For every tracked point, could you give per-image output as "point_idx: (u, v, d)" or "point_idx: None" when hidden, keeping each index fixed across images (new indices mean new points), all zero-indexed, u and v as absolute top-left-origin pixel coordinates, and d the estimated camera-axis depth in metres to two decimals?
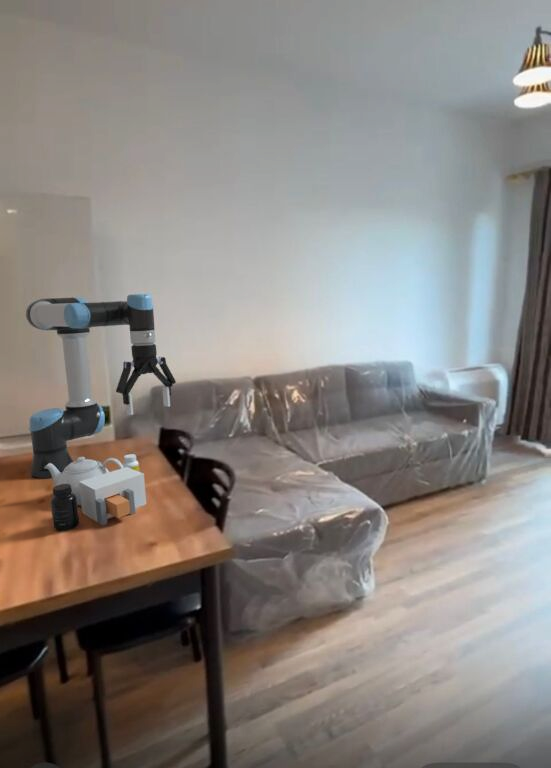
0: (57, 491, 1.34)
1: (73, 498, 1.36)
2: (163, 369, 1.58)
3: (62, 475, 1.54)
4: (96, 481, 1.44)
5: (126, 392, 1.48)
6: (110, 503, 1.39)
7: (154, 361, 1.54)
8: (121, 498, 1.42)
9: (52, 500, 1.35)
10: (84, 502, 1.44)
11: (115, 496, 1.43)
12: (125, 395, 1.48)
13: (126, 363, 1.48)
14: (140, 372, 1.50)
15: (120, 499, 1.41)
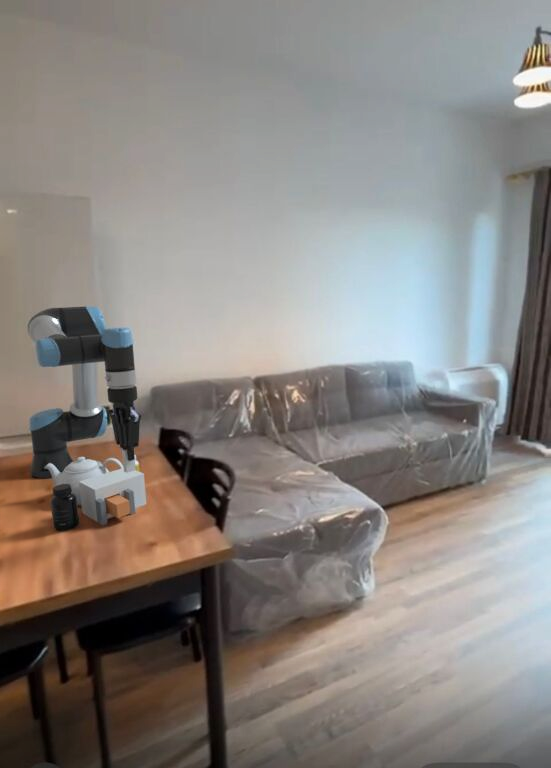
0: (57, 491, 1.34)
1: (73, 498, 1.36)
2: None
3: (62, 475, 1.54)
4: (96, 481, 1.44)
5: None
6: (110, 503, 1.39)
7: (125, 408, 1.27)
8: (121, 498, 1.42)
9: (52, 500, 1.35)
10: (84, 502, 1.44)
11: (115, 496, 1.43)
12: (122, 448, 1.32)
13: None
14: (116, 420, 1.30)
15: (120, 499, 1.41)
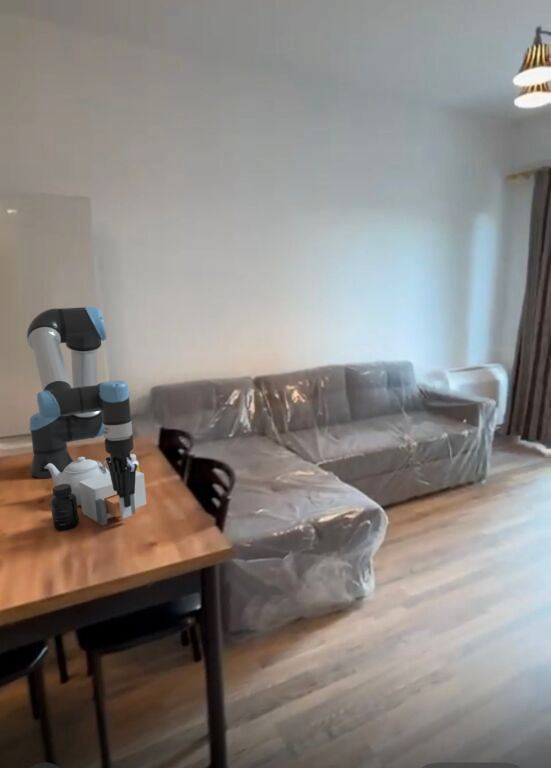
0: (57, 491, 1.34)
1: (73, 498, 1.36)
2: None
3: (62, 475, 1.54)
4: (96, 481, 1.44)
5: (117, 493, 1.38)
6: (109, 502, 1.40)
7: (122, 459, 1.33)
8: None
9: (52, 500, 1.35)
10: (84, 502, 1.44)
11: (114, 495, 1.44)
12: (119, 494, 1.38)
13: None
14: (113, 468, 1.36)
15: None
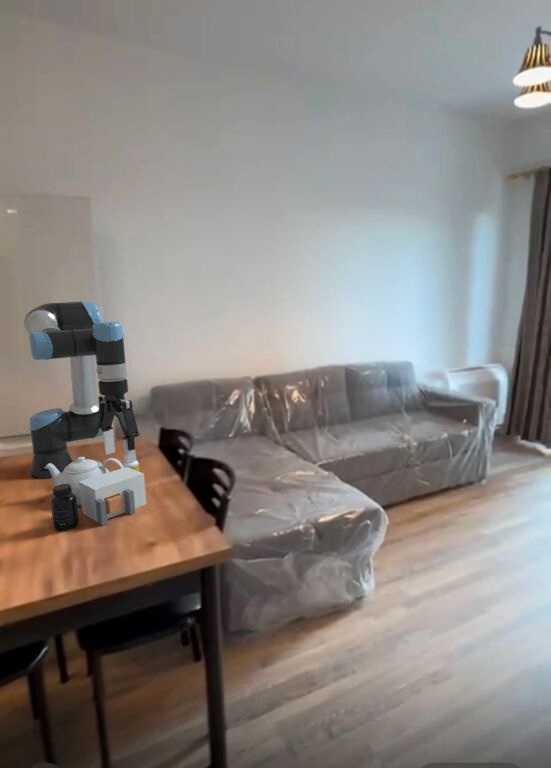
0: (57, 491, 1.34)
1: (73, 498, 1.36)
2: None
3: (62, 475, 1.54)
4: (96, 481, 1.44)
5: (101, 429, 1.38)
6: None
7: (116, 401, 1.30)
8: None
9: (52, 500, 1.35)
10: (84, 502, 1.44)
11: None
12: (103, 431, 1.39)
13: None
14: (105, 410, 1.34)
15: (113, 495, 1.44)
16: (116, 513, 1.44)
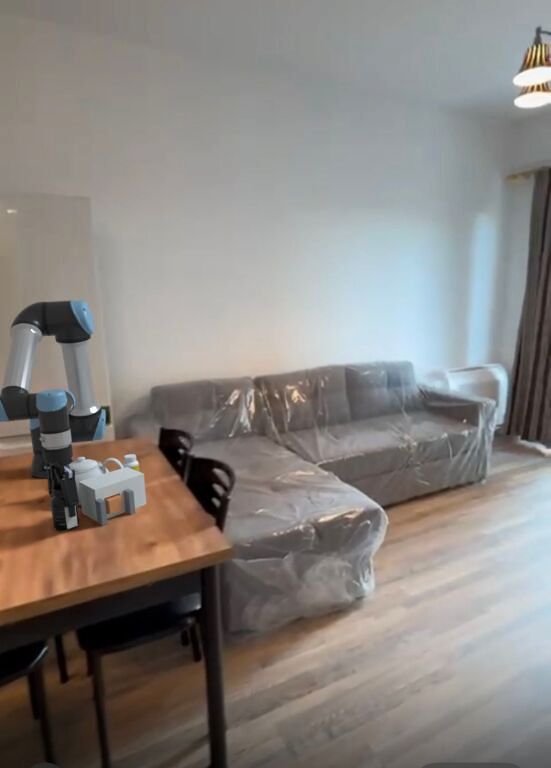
0: (57, 491, 1.34)
1: None
2: None
3: None
4: (96, 481, 1.44)
5: (51, 496, 1.40)
6: None
7: (59, 468, 1.33)
8: None
9: (52, 500, 1.35)
10: (84, 502, 1.44)
11: None
12: None
13: None
14: (51, 476, 1.36)
15: (113, 495, 1.44)
16: (116, 513, 1.44)
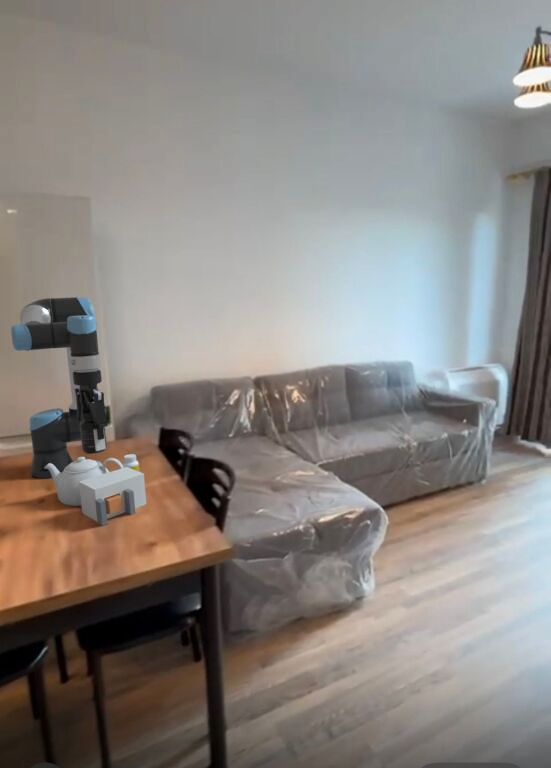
0: (86, 414, 1.38)
1: None
2: None
3: (62, 475, 1.54)
4: (96, 481, 1.44)
5: (80, 421, 1.44)
6: None
7: (89, 391, 1.37)
8: None
9: (81, 423, 1.39)
10: (84, 502, 1.44)
11: None
12: None
13: None
14: (80, 400, 1.40)
15: (113, 495, 1.44)
16: (116, 513, 1.44)
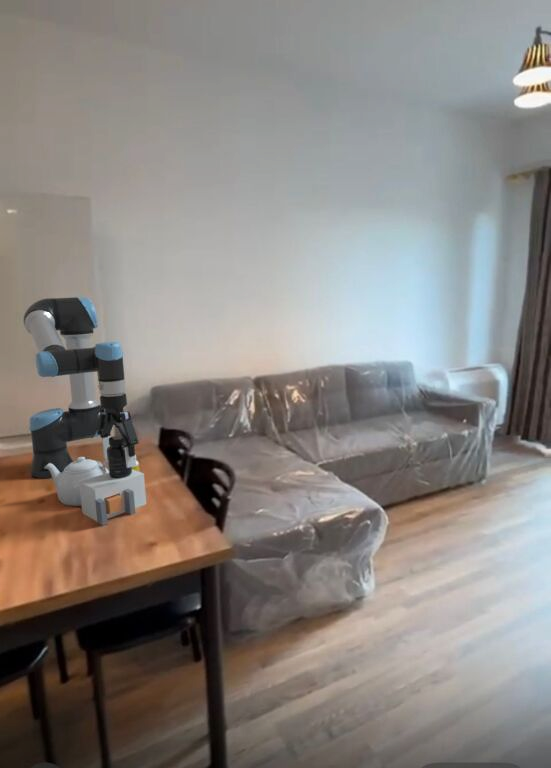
0: (113, 440, 1.45)
1: None
2: None
3: (62, 475, 1.54)
4: (96, 481, 1.44)
5: (100, 435, 1.52)
6: None
7: (116, 414, 1.43)
8: None
9: (108, 449, 1.46)
10: (84, 502, 1.44)
11: None
12: None
13: None
14: (105, 421, 1.47)
15: (113, 495, 1.44)
16: (116, 513, 1.44)
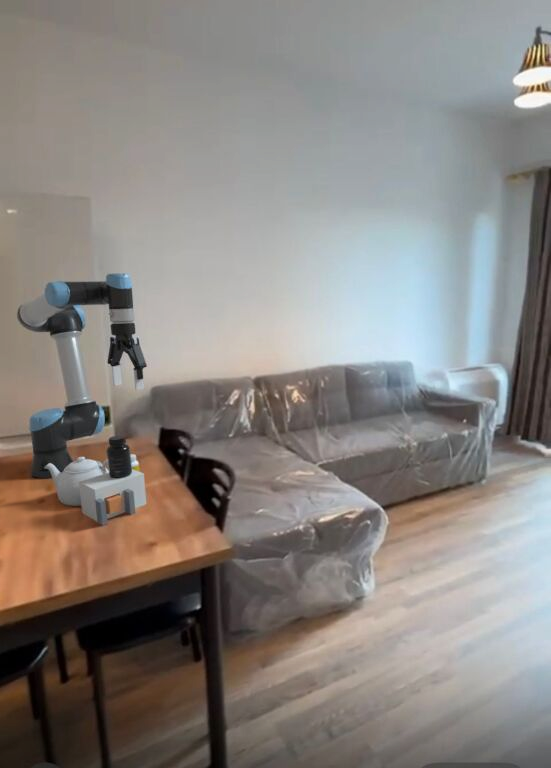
0: (113, 440, 1.45)
1: (127, 448, 1.47)
2: None
3: (62, 475, 1.54)
4: (96, 481, 1.44)
5: (110, 364, 1.63)
6: None
7: (125, 341, 1.54)
8: None
9: (108, 449, 1.46)
10: (84, 502, 1.44)
11: None
12: (112, 366, 1.64)
13: None
14: (115, 348, 1.58)
15: (113, 495, 1.44)
16: (116, 513, 1.44)
